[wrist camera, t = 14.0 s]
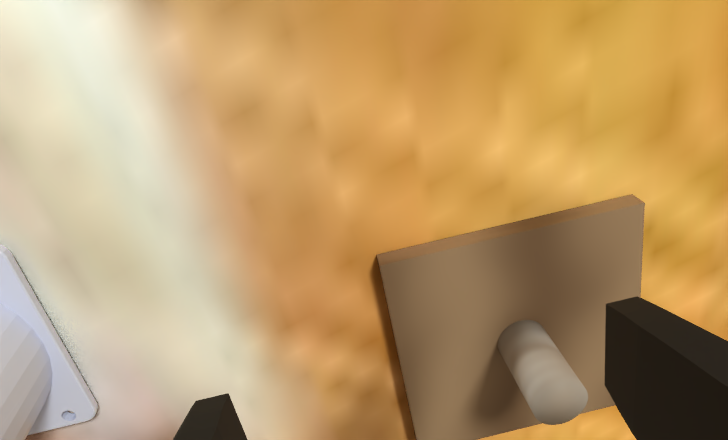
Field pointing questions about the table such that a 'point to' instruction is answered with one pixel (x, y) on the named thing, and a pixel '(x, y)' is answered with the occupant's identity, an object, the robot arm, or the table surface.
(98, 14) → the table surface
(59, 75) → the table surface
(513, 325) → the pin block
